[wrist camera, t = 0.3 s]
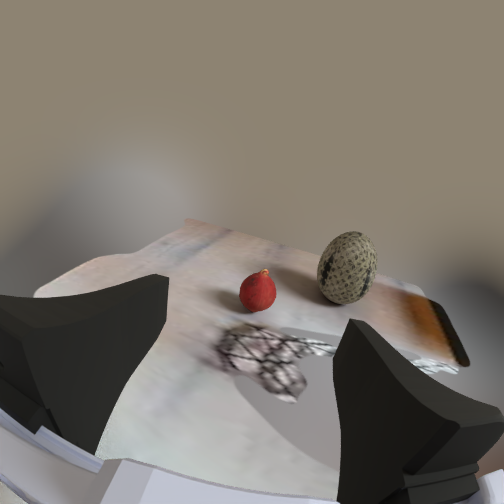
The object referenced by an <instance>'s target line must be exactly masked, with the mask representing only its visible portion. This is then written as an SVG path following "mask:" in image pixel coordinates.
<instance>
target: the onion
mask: <svg viewBox="0 0 504 504" xmlns="http://www.w3.org/2000/svg"><path fill="white" fill-rule="evenodd" d="M268 274H269V271H268V269H263V270H261V271H260V272H258V273H254V274H252V275H250V276H249V277H247V278H246V279H245V280H244V281H243V283H242V284H241V287H240V294H239V297H240V300H241V302H242V304H243V305H244V306H245V307H246V308H247V309H249V310H250V311H251V312H258V311H263V310H265V309H267V308H269V307H270V306H271V305H272V304H273V302H274V300H275V298H276V288H275V284H274V282H273V281H272V279H271V278H270V277H269V276H268Z"/></svg>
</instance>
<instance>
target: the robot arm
mask: <svg viewBox="0 0 504 504" xmlns="http://www.w3.org/2000/svg"><path fill="white" fill-rule="evenodd" d="M168 287H169V277H165V276H161V275H158V274H152V275H148V276H144V277H141V278H138V279H135V280H132V281H129V282H126V283H123V284H119V285H116V286H113V287H109V288H105V289H102V290H98V291H94V292H90V293H85V294H79V295H73V296H63V297H51V298H26V297H14V296H5V295H0V481H1V482H2V483H4V484H5V485H6V486H7V487H8V488H9V489H11V490H12V491H13V492H14V493H15V494H17V495H18V496H19V497H20V498H22V499H23V500H24V501H25V502H27V503H28V504H504V472H503V470H502V469H500V470H497V471H495V472H492V473H489V474H486V475H484V476H482V477H480V478H479V479H477V480H476V477H475V474H474V473H476V472H477V471H478V470H479V466H478V464H477V461H478V460H479V459H481V458H482V456H484V455H485V454H486V453H487V452H488V451H489V449H490V448H492V447H493V445H494V444H495V443H496V442H497V441H498V440H499V438H500V437H501V435H502V434H503V432H504V416H503V415H502V413H501V411H500V410H499V409H498V408H497V407H494V406H491V405H488V404H485V403H482V402H479V401H476V400H473V399H471V398H468V397H466V396H464V395H462V394H459V393H457V392H455V391H453V390H451V389H450V388H448V387H446V386H444V385H442V384H440V383H439V382H437V381H436V380H434V379H432V378H431V377H429V376H428V375H427V374H425V373H424V372H422V371H421V370H420V369H418V368H417V367H416V366H414V365H413V364H412V363H411V362H409V361H408V360H407V359H406V358H404V357H403V356H402V355H401V354H400V353H399V352H398V351H396V350H395V349H394V348H393V347H392V346H391V345H390V344H389V343H388V342H387V341H386V340H385V339H384V338H383V337H382V336H381V335H380V334H378V333H377V332H376V331H375V330H374V329H373V328H372V327H371V326H370V325H368V324H367V323H366V322H364V321H361V320H355V319H349V322H348V324H347V327H346V329H345V332H344V334H343V336H342V339H341V341H340V343H339V346H338V348H337V350H336V353H335V355H334V357H333V382H334V388H335V395H336V400H337V407H338V413H339V420H340V429H341V461H340V476H339V486H338V495H337V501H335V500H333V499H327V498H320V497H313V496H305V495H290V494H280V493H271V492H263V491H256V490H250V489H244V488H238V487H233V486H228V485H223V484H218V483H214V482H210V481H206V480H202V479H198V478H194V477H190V476H187V475H183V474H180V473H177V472H173V471H170V470H167V469H164V468H161V467H158V466H155V465H151V464H147V463H143V462H140V461H136V460H133V459H129V458H126V459H108V460H105V461H104V460H102V459H100V458H98V457H96V456H94V455H95V452H96V450H97V447H98V444H99V441H100V439H101V436H102V434H103V431H104V429H105V426H106V424H107V422H108V419H109V417H110V415H111V413H112V411H113V408H114V406H115V404H116V402H117V400H118V398H119V396H120V394H121V392H122V390H123V389H124V387H125V385H126V383H127V381H128V380H129V378H130V377H131V375H132V374H133V372H134V371H135V369H136V368H137V367H138V365H139V364H140V362H141V361H142V360H143V358H144V357H145V355H146V354H147V353H148V351H149V350H150V348H151V347H152V346H153V344H154V343H155V341H156V340H157V338H158V336H159V334H160V332H161V330H162V328H163V326H164V324H165V322H166V317H167V301H168Z"/></svg>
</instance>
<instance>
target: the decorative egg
mask: <svg viewBox="0 0 504 504" xmlns="http://www.w3.org/2000/svg"><path fill="white" fill-rule="evenodd" d="M376 270H377V254H376V250H375V248H374V245H373V243H372V242H371V241H370V239H369V238H368V237H367V236H365V235H364V234H362V233H360V232H347V233H344V234H341V235H340V236H338V237H336V238H335V239H334V240H333V241H332V242H330V244H329V245H328V246H327V248H326V249H325V251H324V252H323V254H322V256H321V258H320V261H319V264H318V270H317V280H318V285H319V287H320V290H321V291H322V293H323V294H324V295H325V297H326V298H328V299H329V300H331V301H332V302H335V303H338V304H350V303H353V302H356V301H358V300H359V299H361V298H362V297H363V296H364V295H365V294H366V293H367V292H368V291H369V289H370V287H371V286H372V284H373V281H374V279H375V275H376Z"/></svg>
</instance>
